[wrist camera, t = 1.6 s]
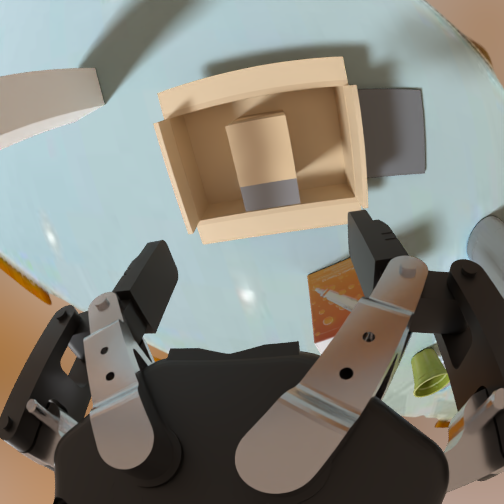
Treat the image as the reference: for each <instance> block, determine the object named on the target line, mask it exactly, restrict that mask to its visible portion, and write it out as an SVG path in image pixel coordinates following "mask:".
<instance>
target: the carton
mask: <svg viewBox="0 0 504 504" xmlns="http://www.w3.org/2000/svg"><path fill="white" fill-rule="evenodd" d="M157 94H158V98H159V101H160V105H161V109H162V113H163V116H164V120H163V121H160V122H157V123H154V128H155V131H156V135H157V138H158V141H159V145H160V148H161V151H162V155H163V158H164V161H165V165H166V168H167V171H168V174H169V177H170V180H171V183H172V187H173V190H174V193H175V196H176V199H177V202H178V205H179V208H180V211H181V214H182V217H183V219H184V222H185V225H186V228H187V231H188V234H193V233H194V231H195V229H196V227H197V228H198V231H199V234H200V237H201V240H202V243H203V244H210V243H216V242H223V241H229V240H236V239H243V238H250V237H257V236H263V235H270V234H277V233H284V232H291V231H299V230H306V229H313V228H320V227H328V226H335V225H343V224H348V212H351V211H359V210H361V206H362V207H363V209H364V208H368V188H367V170H366V156H365V145H364V135H363V126H362V118H361V110H360V103H359V97H358V91H357V85H348V80H347V75H346V70H345V65H344V60H343V56H342V57H323V58H311V59H301V60H293V61H285V62H278V63H272V64H266V65H260V66H254V67H249V68H244V69H240V70H235V71H231V72H226V73H222V74H218V75H214V76H211V77H207V78H203V79H200V80H196V81H193V82H190V83H187V84H183V85H180V86H177V87H174V88H171V89H168V90H165V91H163V92H160V93H157ZM276 110H283V112H284V114H285V116H286V121H287V126H288V131H289V137H290V142H291V148H292V154H293V159H294V165H295V171H296V177H297V184H298V190H299V197H300V204H293V205H286V206H279V207H272V208H266V209H260V210H253V211H247V212H246V210H245V206H244V202H243V198H242V194H241V189H240V185H239V181H238V177H237V173H236V169H235V165H234V161H233V156H232V152H231V148H230V144H229V140H228V136H227V132H226V128H225V126H226V125H228V124H229V123H231V122H232V121H234V120H235V119H237V118H239V117H243V116H248V115H253V114H259V113H264V112H270V111H276Z"/></svg>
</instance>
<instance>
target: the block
mask: <svg viewBox="0 0 504 504" xmlns="http://www.w3.org/2000/svg"><path fill="white" fill-rule="evenodd" d="M225 128H226V132H227V136H228V140H229V144H230V148H231V152H232V156H233V161H234V165H235V169H236V173H237V177H238V181H239V185H240V189H241V194H242V198H243V202H244V206H245V210H246V212H247V211H253V210H260V209H266V208H272V207H279V206H286V205H293V204H300V197H299V190H298V184H297V177H296V171H295V165H294V159H293V154H292V148H291V142H290V137H289V131H288V126H287V121H286V116H285V114H284V112H283V110H276V111H270V112H264V113H259V114H253V115H248V116H243V117H239V118H237V119H235V120H234V121H232V122H231V123H229V124H228V125H226V126H225Z"/></svg>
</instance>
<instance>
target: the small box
mask: <svg viewBox="0 0 504 504" xmlns="http://www.w3.org/2000/svg"><path fill="white" fill-rule="evenodd" d="M307 279H308V287H309V296H310V305H311V314H312V325H313V335H314V344H315V345H316V347H317V348H318V350H319V351H320V353H321V354H322V353H323V352H324V350H325V349H326V347H327V346H328V345H329V343H330V342H331V341H332V339H333V338H334V336H335V335H336V334H337V332H338V331H339V329H340V328H341V326H342V325H343V323H344V322H345V320H346V319H347V317H348V316H349V314H350V313H351V311H352V310H353V308H354V307H355V305H356V304H357V302H358V301H359V299H360V298H361V297H363V296H364V294H363V291H362V288H361V285H360V282H359V280H358V277H357V274H356V271H355V269H354V266H353V263H352V261H351V258H348V259H346V260H344V261H342V262H339V263H337V264H335V265H332V266H330V267H327V268H325V269H322V270H320V271H317V272H315V273H312V274H310V275H308V276H307ZM364 297H365V296H364Z"/></svg>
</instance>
